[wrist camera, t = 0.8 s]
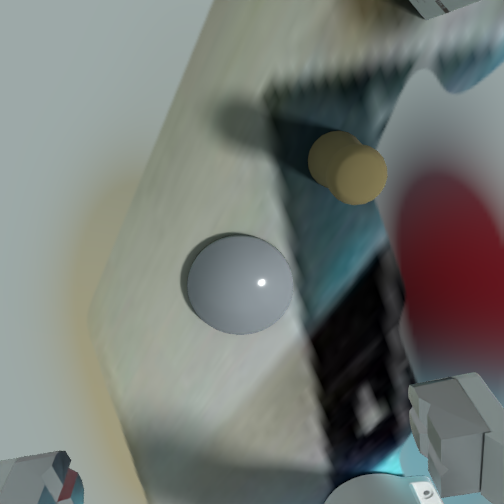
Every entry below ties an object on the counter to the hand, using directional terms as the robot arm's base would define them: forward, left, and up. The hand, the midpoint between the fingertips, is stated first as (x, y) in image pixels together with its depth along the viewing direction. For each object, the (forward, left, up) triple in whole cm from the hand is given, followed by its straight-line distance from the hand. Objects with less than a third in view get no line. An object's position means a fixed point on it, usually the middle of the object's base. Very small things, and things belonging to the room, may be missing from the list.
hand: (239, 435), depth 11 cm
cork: (-6, -8, -41) cm, 42 cm away
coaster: (-10, +9, -40) cm, 43 cm away
